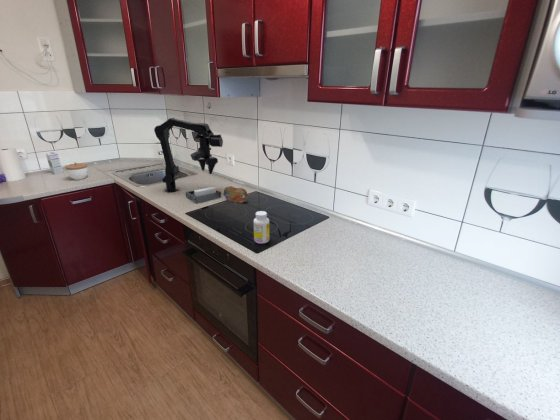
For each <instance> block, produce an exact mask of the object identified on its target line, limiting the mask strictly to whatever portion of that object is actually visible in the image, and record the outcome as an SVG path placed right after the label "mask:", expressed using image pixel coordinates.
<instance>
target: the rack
mask: <svg viewBox="0 0 560 420" xmlns="http://www.w3.org/2000/svg"><path fill="white" fill-rule="evenodd" d="M208 187H209V186H207V187H206V188H208ZM203 188H204V187H203ZM203 188H201V189H203ZM199 189H200V188H199ZM199 189H197V190H199ZM194 190H195V189H194ZM194 190H190V191H189V190H188V191H186V192H185V197H186V199H188V200H190V201H191V202H193V203H194V204H199V203H204V202H208V201H212V200H216V199H221V198H222V192H221V191H220V190H219V189H217V188H216V193H213V194H209V195H204V196H200V197H195V196H194Z"/></svg>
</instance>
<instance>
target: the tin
mask: <svg viewBox="0 0 560 420" xmlns="http://www.w3.org/2000/svg"><path fill="white" fill-rule="evenodd" d="M223 196H224V198H225V199H226V200H228V201H230V202H234V203H239V204H242V203H244V202H247V200H248V196H249V195H248V192H247V191H246V189H245V188H243V187H239V186H238V187H237V186H232V185H229V186H225V188H224V189H223Z"/></svg>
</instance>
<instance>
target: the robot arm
mask: <svg viewBox="0 0 560 420" xmlns="http://www.w3.org/2000/svg"><path fill="white" fill-rule="evenodd" d="M174 127H175V128H181V129H184V130H189V131H192V132H194V133H196V134H197V135H196V136H195V137H194V138H195V139H198V144H199V147H198V148H197V151H194V152H193V153H190V157H191V159H192V161H194V162H198V164H199V166H200V168H201V170H202V172H204V171H205V168H206V166H207V169H208V173H209V175H212V174H213V171H214V169H215V166H216V165H217V163H218V162H219V161H218V160H219V159H218V158H217V157H215V156H213V155H212V154H211V151H212V147H214V148H215V147H217V148H218V147H219V148H222V147H223V145H224V140H223V137H222V134H214V132H213V131H212V130H211V127H210V125H209V124H208V123H205V122H190V121H186V120H183V119H178V118H175V117H172V118H168V119H166V121H164V122H163V123H161V124H160V125H156V126H155V127H154V129H153V130H154V133H155V136H156V138H157V139H158V141H159V142H160V147H161V151H162V154H163V159H164V161H165V168H164V169H165V170H164V174H165V175H164V177H163V178H161V181H162V183H163V184H165V187H166V188H164V191H166V192H167V193H172V192H173V193H174V192H178V191H179V189H178V188H177V186H176V185H177V184H176V180H178V177H179V176H180V166H179V165H176V164H175V162H174V157H173V153H172V149H171V145H170V140H169V139H170V130H171V129H173V128H174ZM210 146H211V147H210Z"/></svg>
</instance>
